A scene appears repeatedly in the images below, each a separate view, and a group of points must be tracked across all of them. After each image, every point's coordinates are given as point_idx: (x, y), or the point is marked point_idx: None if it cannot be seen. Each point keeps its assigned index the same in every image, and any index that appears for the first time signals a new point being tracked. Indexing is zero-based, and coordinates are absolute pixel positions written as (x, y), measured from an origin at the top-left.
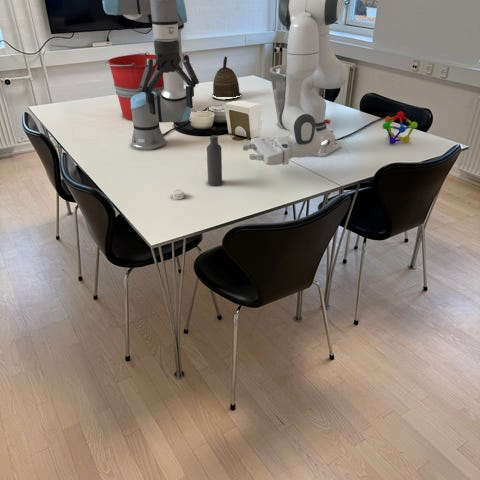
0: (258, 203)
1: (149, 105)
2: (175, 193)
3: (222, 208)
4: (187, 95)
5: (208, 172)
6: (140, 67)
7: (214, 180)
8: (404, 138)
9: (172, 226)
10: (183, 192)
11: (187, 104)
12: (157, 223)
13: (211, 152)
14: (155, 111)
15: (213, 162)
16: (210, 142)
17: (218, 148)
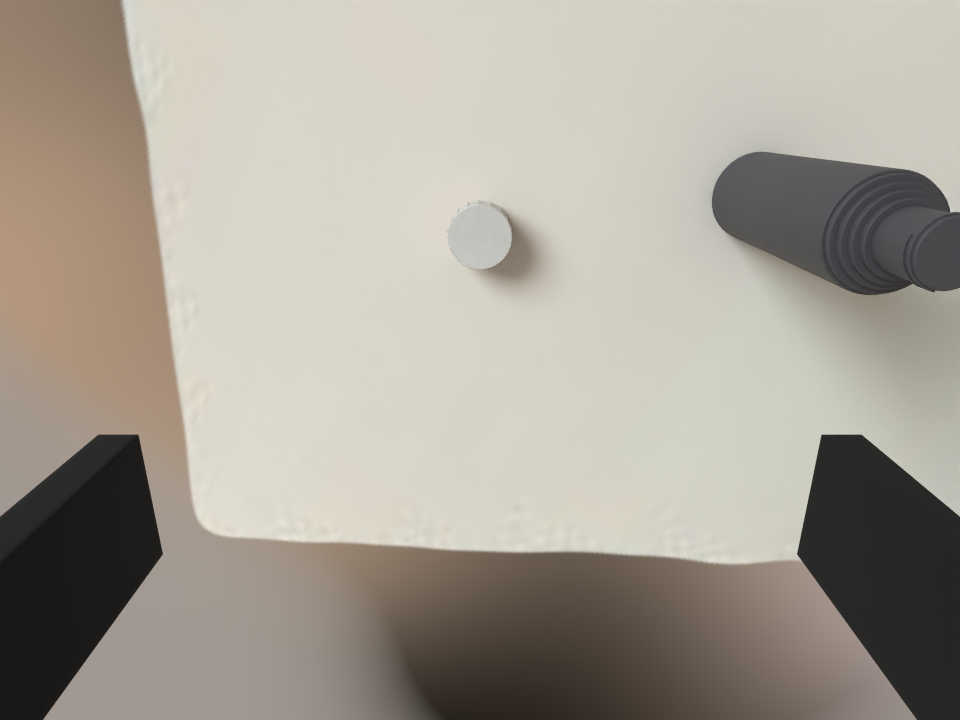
0: (750, 509)
1: (18, 520)
2: (456, 251)
3: (589, 459)
4: (938, 621)
5: (742, 203)
6: None
7: (738, 237)
8: None
9: (317, 469)
10: (505, 255)
11: (835, 481)
12: (269, 413)
13: (817, 267)
14: (139, 584)
15: (788, 258)
16: (885, 239)
17: (889, 287)
